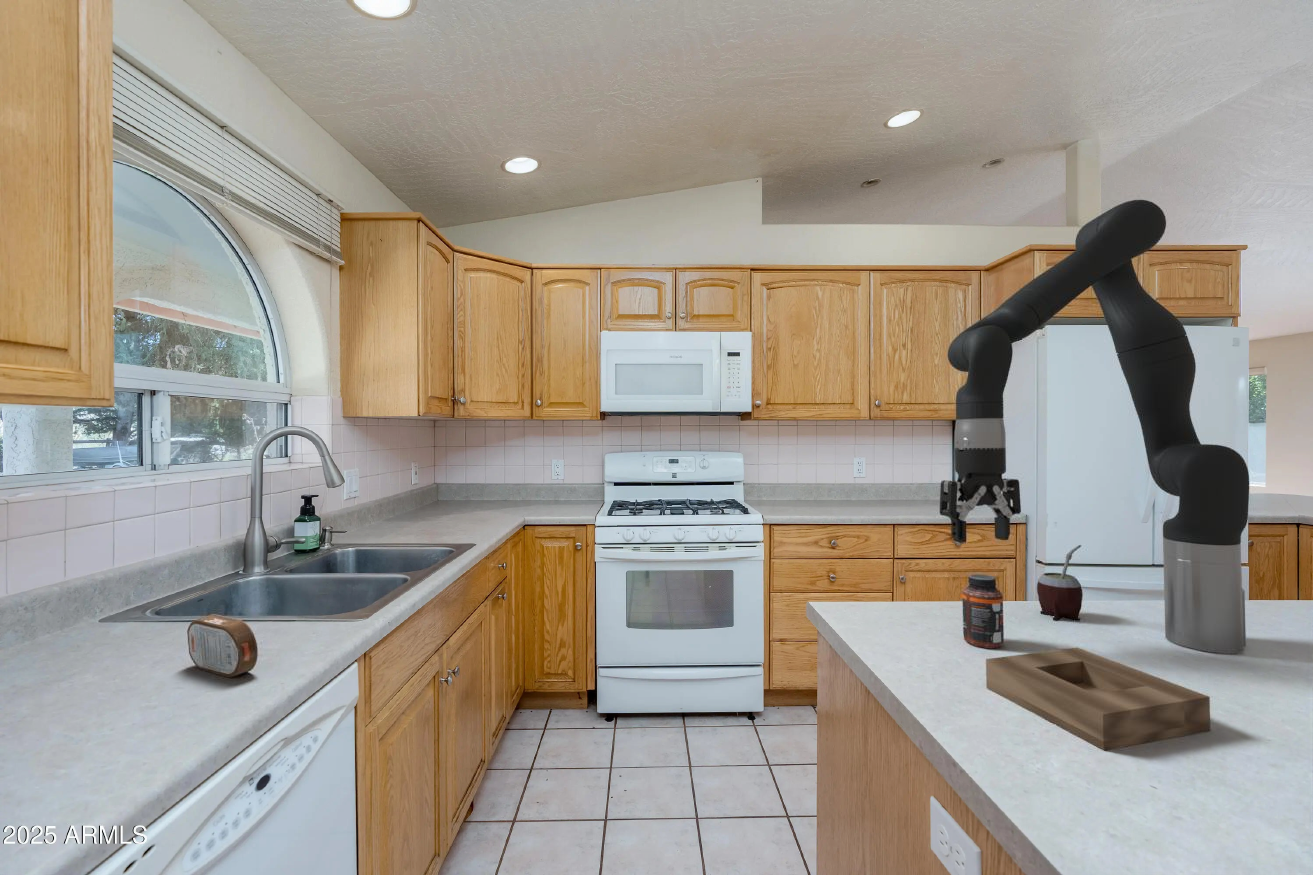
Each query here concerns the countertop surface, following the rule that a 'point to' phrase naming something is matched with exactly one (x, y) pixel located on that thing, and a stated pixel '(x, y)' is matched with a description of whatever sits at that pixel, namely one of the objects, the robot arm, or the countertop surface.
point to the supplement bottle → (983, 612)
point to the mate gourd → (1060, 593)
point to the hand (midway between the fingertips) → (980, 540)
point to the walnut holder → (1098, 697)
